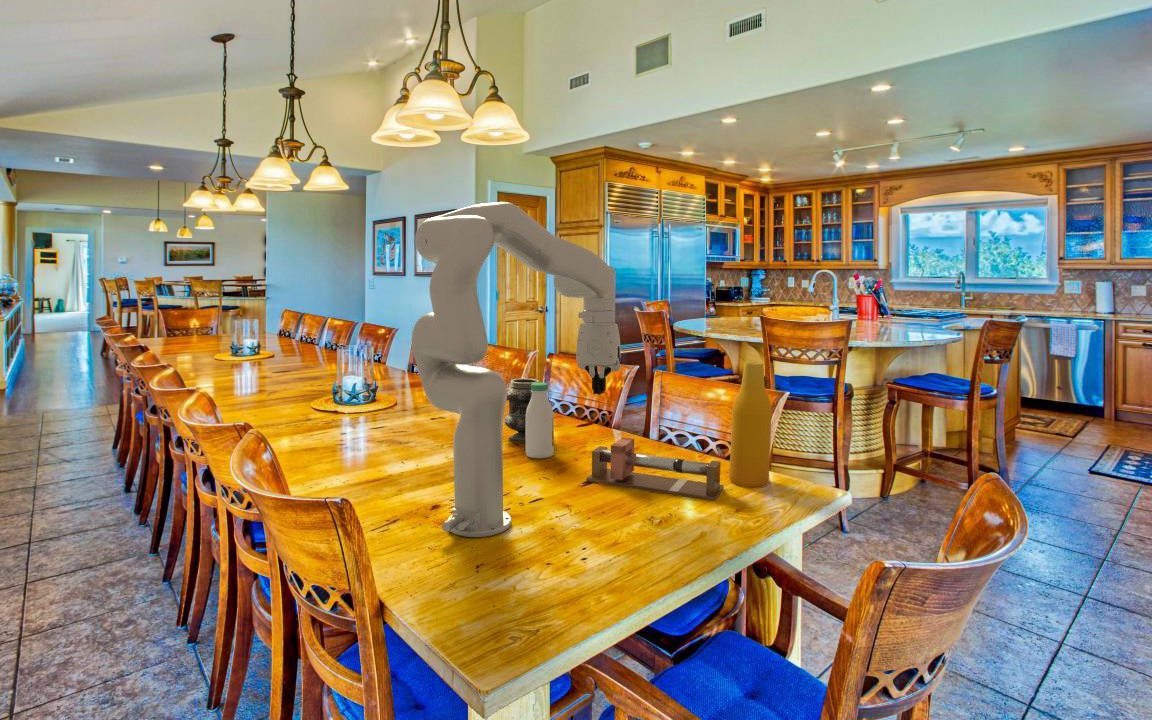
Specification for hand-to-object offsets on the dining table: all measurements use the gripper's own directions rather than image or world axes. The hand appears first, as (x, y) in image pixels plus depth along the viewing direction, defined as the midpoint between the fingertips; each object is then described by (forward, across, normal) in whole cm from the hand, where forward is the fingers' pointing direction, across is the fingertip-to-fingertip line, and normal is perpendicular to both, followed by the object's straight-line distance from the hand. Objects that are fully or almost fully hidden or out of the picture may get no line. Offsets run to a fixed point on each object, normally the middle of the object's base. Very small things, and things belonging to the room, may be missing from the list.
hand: (598, 393), depth 152 cm
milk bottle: (+21, -22, +10) cm, 32 cm away
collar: (+19, +6, 0) cm, 20 cm away
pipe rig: (+21, +14, 0) cm, 25 cm away
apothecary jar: (+21, -34, +23) cm, 46 cm away
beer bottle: (+21, +34, +12) cm, 42 cm away
